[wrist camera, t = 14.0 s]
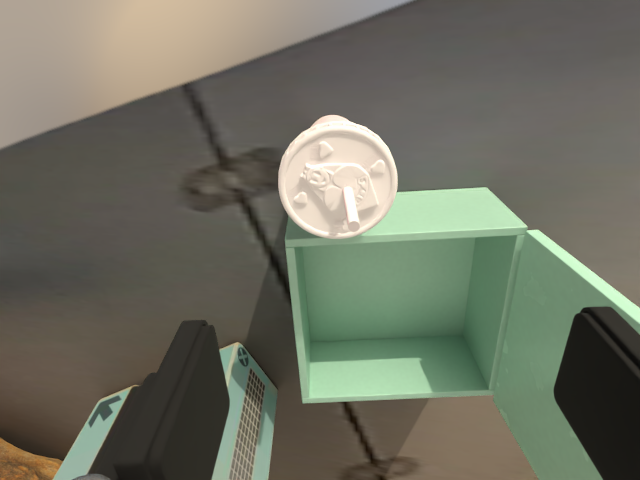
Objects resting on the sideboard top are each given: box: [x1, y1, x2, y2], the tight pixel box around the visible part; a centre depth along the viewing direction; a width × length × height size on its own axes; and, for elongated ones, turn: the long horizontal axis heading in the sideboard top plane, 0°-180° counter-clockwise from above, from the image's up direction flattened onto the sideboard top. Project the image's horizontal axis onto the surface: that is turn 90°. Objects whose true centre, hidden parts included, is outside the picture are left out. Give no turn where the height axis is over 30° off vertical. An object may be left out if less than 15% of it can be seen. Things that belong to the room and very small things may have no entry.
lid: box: [493, 230, 640, 480], centre depth 22 cm, size 16×15×5 cm
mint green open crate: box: [285, 187, 528, 403], centre depth 32 cm, size 15×15×7 cm
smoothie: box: [278, 115, 398, 239], centre depth 24 cm, size 6×6×14 cm
